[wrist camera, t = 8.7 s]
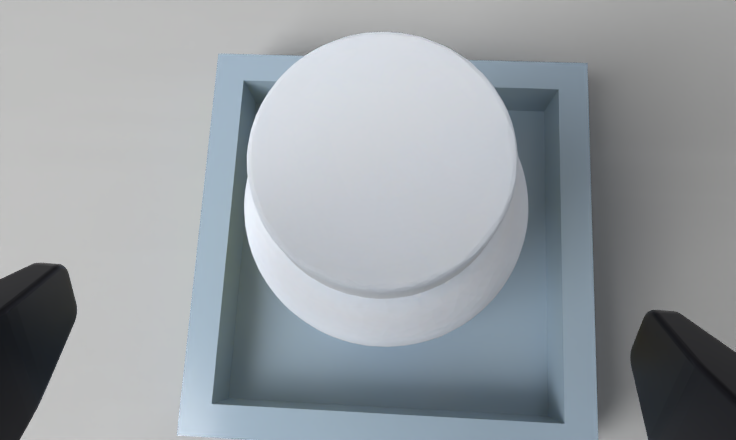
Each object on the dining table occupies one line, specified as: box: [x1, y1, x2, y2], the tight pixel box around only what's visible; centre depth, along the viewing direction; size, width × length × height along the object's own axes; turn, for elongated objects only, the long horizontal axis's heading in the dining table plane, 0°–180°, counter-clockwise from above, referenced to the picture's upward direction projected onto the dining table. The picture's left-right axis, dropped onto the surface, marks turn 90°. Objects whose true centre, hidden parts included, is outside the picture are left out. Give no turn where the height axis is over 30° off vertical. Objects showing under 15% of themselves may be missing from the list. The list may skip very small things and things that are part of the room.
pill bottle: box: [244, 32, 528, 347], centre depth 16 cm, size 6×6×12 cm
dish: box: [177, 54, 598, 440], centre depth 21 cm, size 13×13×3 cm
